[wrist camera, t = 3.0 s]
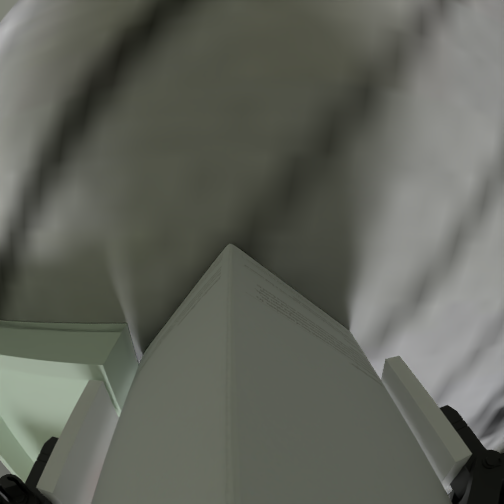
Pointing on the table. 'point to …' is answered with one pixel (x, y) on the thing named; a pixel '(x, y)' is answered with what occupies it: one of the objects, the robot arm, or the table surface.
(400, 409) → the robot arm
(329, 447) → the supplement box
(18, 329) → the green tray
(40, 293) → the table surface
